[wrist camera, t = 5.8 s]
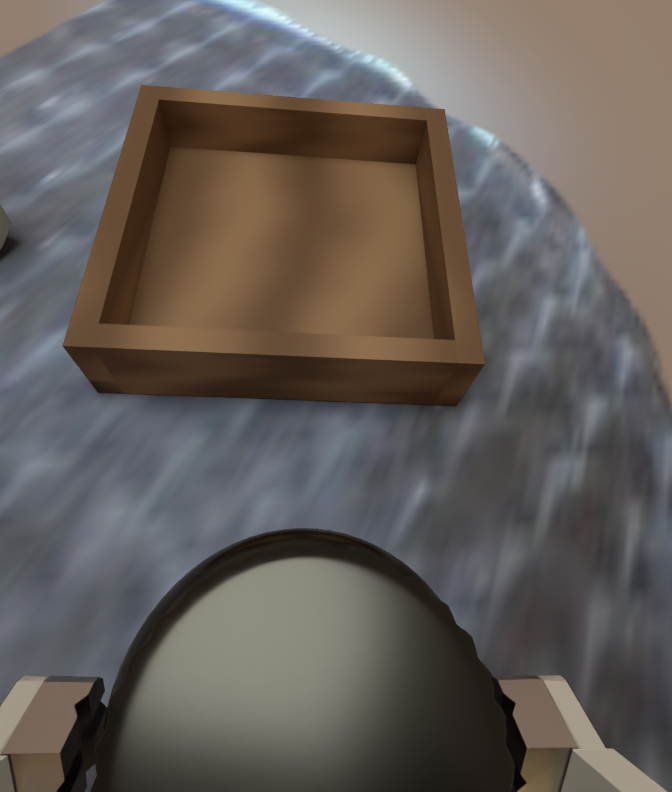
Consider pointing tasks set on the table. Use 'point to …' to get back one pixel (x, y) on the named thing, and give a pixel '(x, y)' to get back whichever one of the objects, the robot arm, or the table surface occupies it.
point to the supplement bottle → (303, 680)
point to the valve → (3, 226)
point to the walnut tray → (280, 255)
